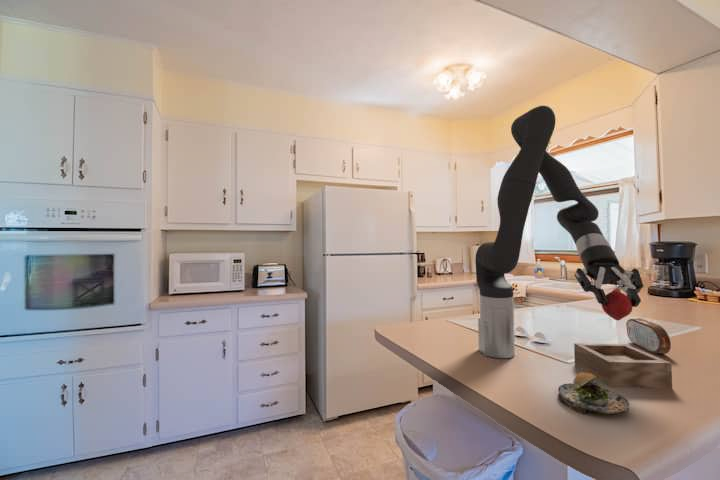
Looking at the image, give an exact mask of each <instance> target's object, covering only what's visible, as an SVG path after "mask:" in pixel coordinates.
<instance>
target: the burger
mask: <svg viewBox="0 0 720 480" xmlns="http://www.w3.org/2000/svg"><path fill="white" fill-rule="evenodd" d="M578 366H579V365H578ZM578 366H577V367H578ZM578 369H579V370H580V372H579V373H578V374H576V375H575V377H574V379H573V383H570V382H569V383H563V384H561V385H559V387H558V389H557V390H558V394H557V399H558V400H559V401H560V403H562V404H563V405H565V407H568V408H570V409H571V410H573V411H577V413H579V414H583V415H584V414H585V413H586V411H590V412H595V413H600V414H608V415H609V414H612V415H613V414H619V413H622V412H625V411H628V410H629V409H630V403H629V401H628V399H626V398H625V397H623V396H622V395H621V394H617V393H616V392H614V391H610V390H609V389H607V388H603V387H601V385H599V384H598V382H596V381H595V380H597V377H596V376H595V375H593V374H591V373H587V372H586V371H581V370H582V369H581V368H579V367H578Z"/></svg>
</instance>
